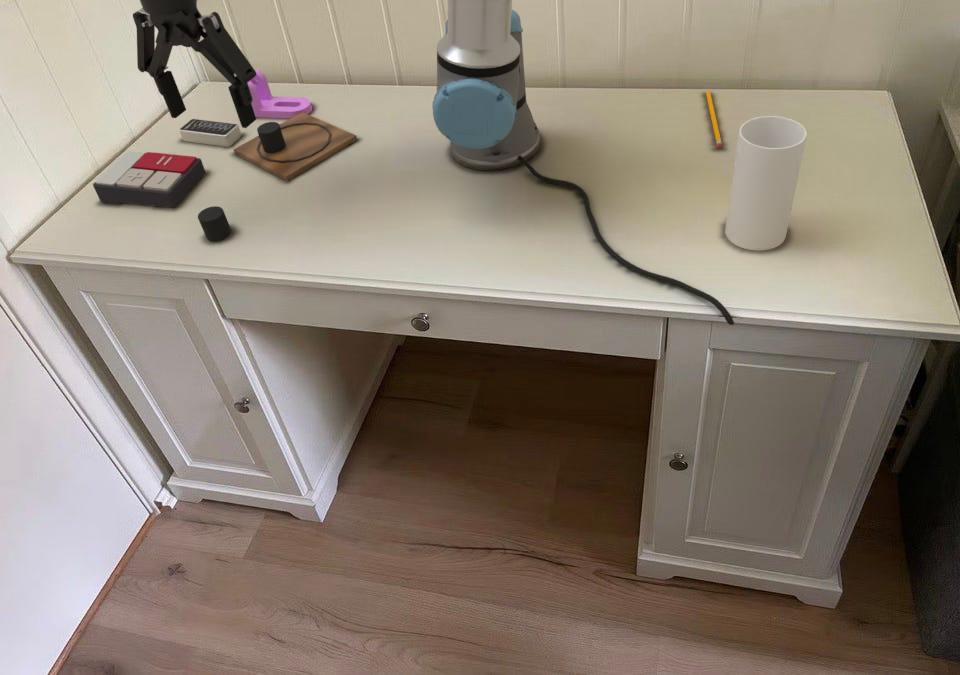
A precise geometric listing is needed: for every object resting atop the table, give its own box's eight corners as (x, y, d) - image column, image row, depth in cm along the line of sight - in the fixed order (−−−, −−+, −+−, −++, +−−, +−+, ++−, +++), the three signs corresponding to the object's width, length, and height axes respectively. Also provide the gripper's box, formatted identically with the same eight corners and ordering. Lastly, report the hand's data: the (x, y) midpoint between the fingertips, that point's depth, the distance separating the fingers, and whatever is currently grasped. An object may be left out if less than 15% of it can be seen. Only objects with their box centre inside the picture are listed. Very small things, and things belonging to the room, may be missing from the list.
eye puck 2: (290, 145, 141) (284, 125, 138) (272, 155, 139) (265, 135, 136) (277, 139, 143) (270, 119, 140) (259, 149, 141) (252, 129, 138)
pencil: (717, 148, 128) (717, 145, 127) (705, 94, 140) (706, 91, 140) (722, 148, 127) (722, 145, 127) (710, 94, 140) (710, 91, 140)
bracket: (244, 116, 153) (233, 83, 148) (257, 102, 157) (246, 69, 152) (305, 118, 150) (295, 84, 145) (316, 104, 154) (307, 70, 149)
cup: (749, 257, 108) (766, 155, 96) (713, 227, 113) (725, 127, 102) (798, 238, 109) (821, 136, 98) (760, 209, 115) (778, 109, 104)
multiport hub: (229, 147, 145) (225, 136, 143) (182, 140, 149) (177, 129, 147) (242, 134, 148) (238, 123, 146) (196, 129, 151) (191, 118, 150)
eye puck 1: (236, 232, 125) (228, 211, 122) (215, 245, 123) (206, 224, 120) (222, 223, 127) (214, 203, 124) (201, 236, 125) (192, 215, 122)
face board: (357, 140, 142) (355, 134, 141) (287, 181, 134) (285, 175, 133) (303, 116, 151) (301, 110, 150) (234, 154, 143) (232, 148, 142)
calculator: (167, 189, 129) (89, 181, 132) (176, 211, 132) (99, 202, 135) (200, 154, 137) (125, 146, 140) (207, 175, 140) (134, 167, 143)
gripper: (251, -30, 105) (293, 115, 120) (111, -37, 113) (166, 98, 128) (217, -8, 100) (266, 140, 115) (73, -17, 109) (135, 121, 123)
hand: (213, 118), depth 122 cm, fingers open, 13 cm apart
